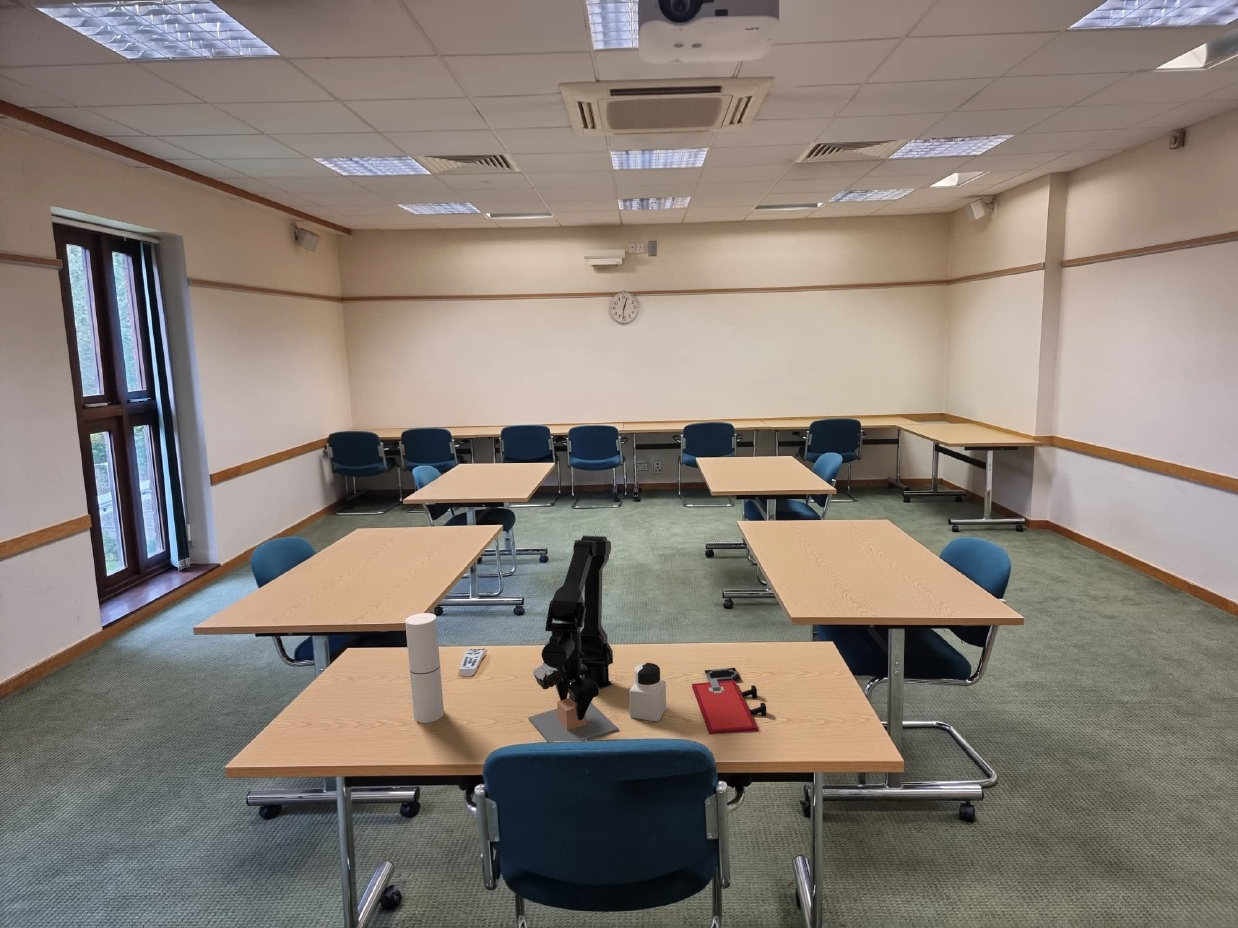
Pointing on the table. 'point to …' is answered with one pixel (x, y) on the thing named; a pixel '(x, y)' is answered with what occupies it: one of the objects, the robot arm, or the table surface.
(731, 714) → the red board with handle
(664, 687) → the medicine bottle
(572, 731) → the gray mat
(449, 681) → the table surface
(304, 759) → the table surface
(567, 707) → the terracotta cube
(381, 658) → the table surface
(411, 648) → the cylindrical container
